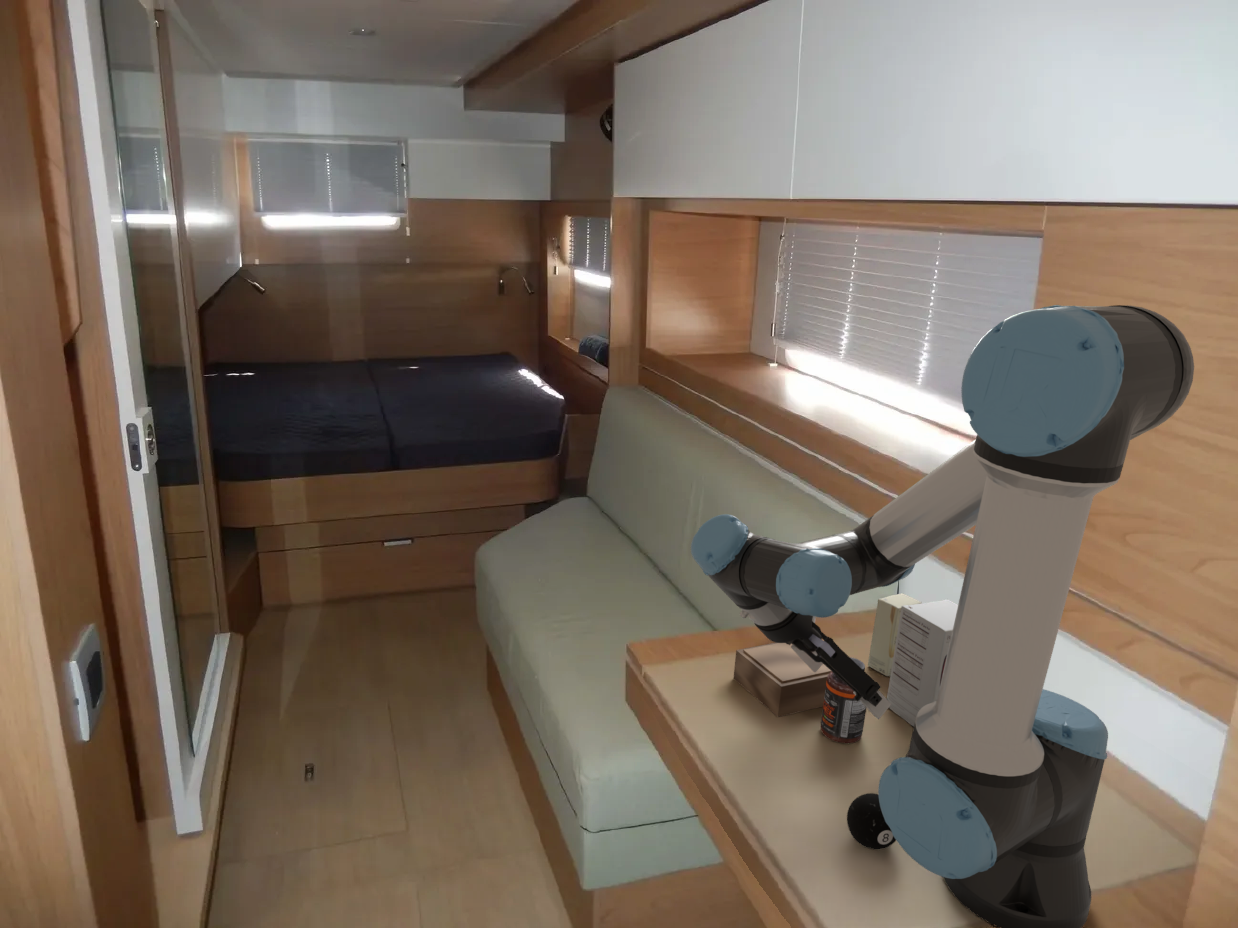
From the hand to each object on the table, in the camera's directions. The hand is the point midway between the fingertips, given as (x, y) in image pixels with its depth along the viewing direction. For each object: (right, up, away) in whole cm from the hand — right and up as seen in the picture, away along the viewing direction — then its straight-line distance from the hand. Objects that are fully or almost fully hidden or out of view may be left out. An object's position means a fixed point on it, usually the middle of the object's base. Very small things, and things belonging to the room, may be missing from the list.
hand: (850, 686), depth 127 cm
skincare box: (+12, -2, +21) cm, 25 cm away
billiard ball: (-3, -13, -21) cm, 25 cm away
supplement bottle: (-1, -7, +1) cm, 7 cm away
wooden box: (-7, -4, +12) cm, 15 cm away
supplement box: (+14, -6, +7) cm, 17 cm away
